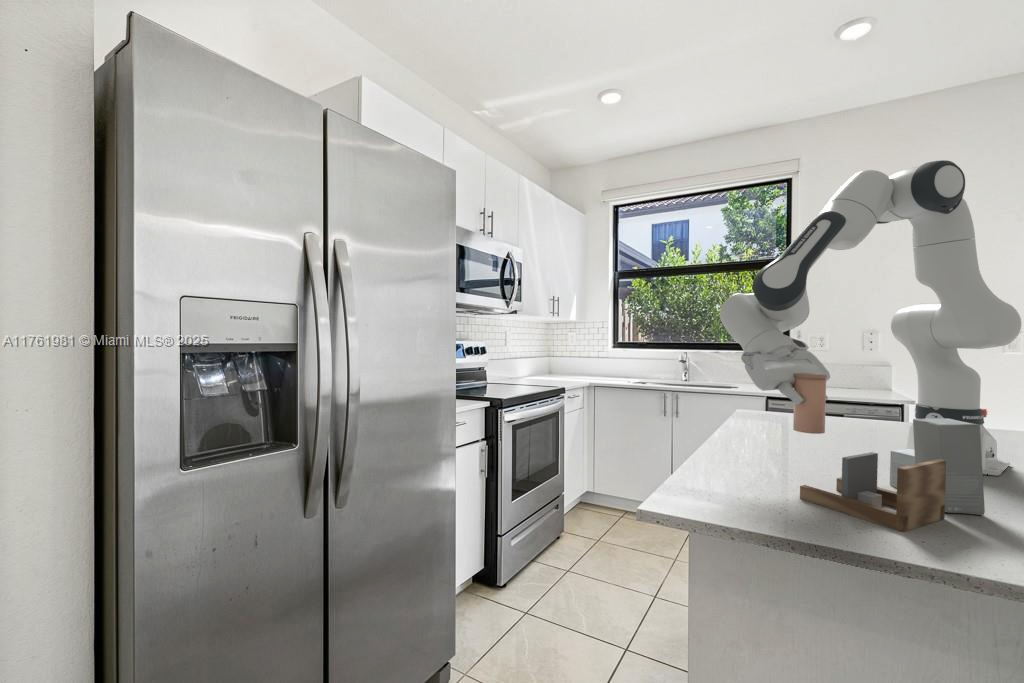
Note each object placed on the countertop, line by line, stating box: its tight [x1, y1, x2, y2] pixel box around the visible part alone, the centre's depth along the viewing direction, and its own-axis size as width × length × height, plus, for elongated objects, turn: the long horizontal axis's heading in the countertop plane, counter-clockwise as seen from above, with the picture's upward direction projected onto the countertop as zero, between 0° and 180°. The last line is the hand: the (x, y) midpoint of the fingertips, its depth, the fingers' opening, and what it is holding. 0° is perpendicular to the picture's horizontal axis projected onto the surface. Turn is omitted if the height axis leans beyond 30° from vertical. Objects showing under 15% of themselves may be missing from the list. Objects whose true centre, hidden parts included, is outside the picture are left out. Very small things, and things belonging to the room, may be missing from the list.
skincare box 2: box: [912, 418, 986, 516], centre depth 89 cm, size 8×7×16 cm
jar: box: [792, 373, 827, 435], centre depth 101 cm, size 6×6×12 cm
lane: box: [799, 459, 946, 533], centre depth 88 cm, size 13×17×10 cm
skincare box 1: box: [889, 448, 915, 488], centre depth 99 cm, size 6×6×7 cm
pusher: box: [841, 451, 883, 508], centre depth 88 cm, size 9×3×9 cm, turn 116°
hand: (812, 401), depth 100 cm, fingers closed on jar, 6 cm apart
